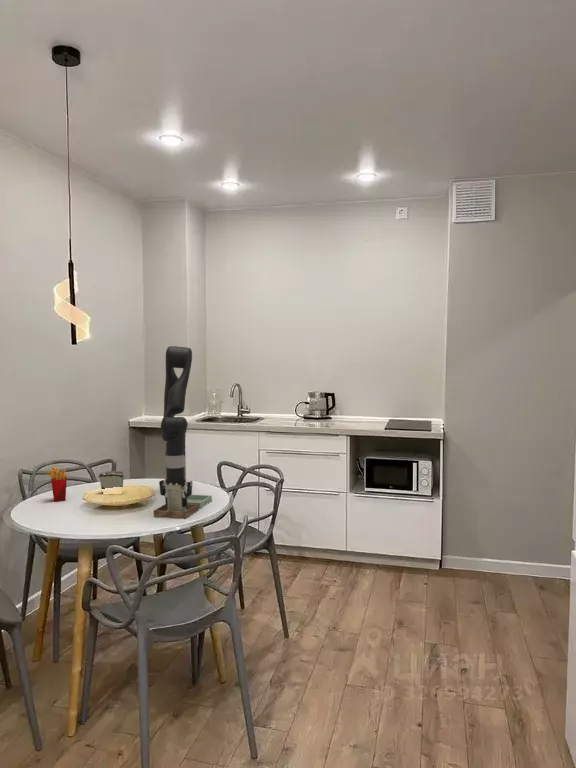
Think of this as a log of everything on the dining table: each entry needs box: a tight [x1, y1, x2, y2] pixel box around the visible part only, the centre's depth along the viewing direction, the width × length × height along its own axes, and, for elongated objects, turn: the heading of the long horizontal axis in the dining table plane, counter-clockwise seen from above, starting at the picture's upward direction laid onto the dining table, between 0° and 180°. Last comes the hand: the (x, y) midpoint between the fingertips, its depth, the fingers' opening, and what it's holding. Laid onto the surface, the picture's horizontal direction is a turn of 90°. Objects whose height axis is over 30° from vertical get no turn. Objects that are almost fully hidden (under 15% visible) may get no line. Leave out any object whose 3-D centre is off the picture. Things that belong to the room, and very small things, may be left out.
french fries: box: [45, 466, 68, 503], centre depth 269 cm, size 9×8×15 cm
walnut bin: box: [153, 503, 200, 520], centre depth 246 cm, size 14×13×2 cm
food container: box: [98, 470, 126, 489], centre depth 283 cm, size 12×6×10 cm, turn 84°
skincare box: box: [167, 485, 187, 512], centre depth 246 cm, size 6×4×12 cm
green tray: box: [187, 494, 213, 510], centre depth 260 cm, size 14×13×2 cm
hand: (176, 506), depth 246 cm, fingers closed on skincare box, 6 cm apart
